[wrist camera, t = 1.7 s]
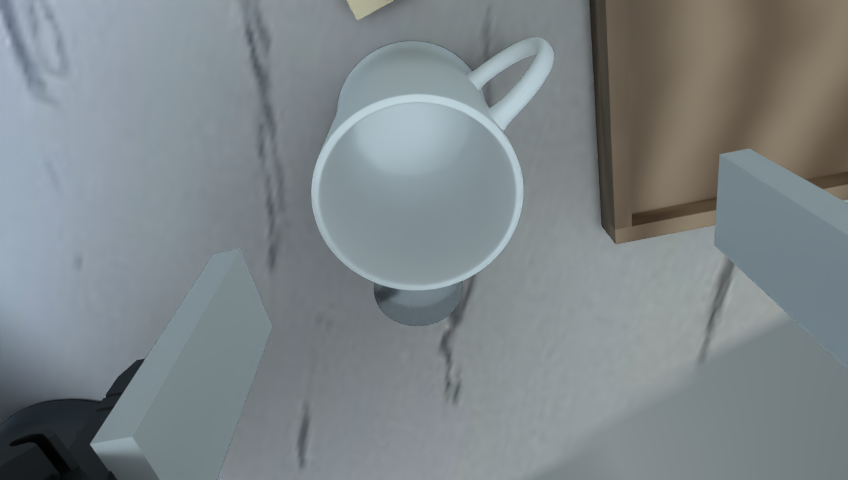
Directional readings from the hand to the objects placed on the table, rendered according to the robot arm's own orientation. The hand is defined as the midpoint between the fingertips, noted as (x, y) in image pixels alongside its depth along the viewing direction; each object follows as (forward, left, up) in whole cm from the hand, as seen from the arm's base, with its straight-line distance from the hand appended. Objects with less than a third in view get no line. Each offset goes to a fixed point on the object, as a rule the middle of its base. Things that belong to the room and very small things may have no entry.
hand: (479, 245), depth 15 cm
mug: (0, 0, -18) cm, 18 cm away
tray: (+17, -2, -18) cm, 24 cm away
